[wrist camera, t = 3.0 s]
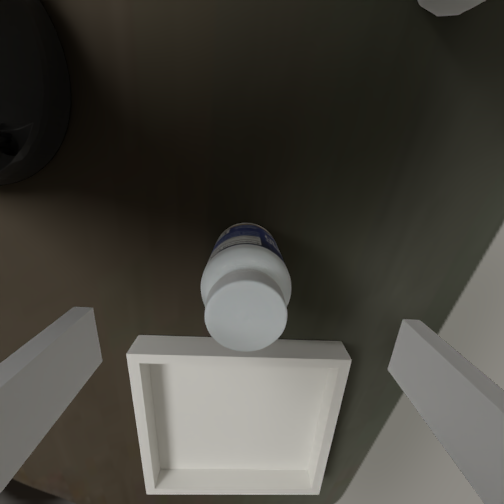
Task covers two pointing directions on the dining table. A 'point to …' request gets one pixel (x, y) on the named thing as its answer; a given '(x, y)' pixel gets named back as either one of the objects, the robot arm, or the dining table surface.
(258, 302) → the pill bottle
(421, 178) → the dining table surface
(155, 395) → the tray
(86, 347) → the robot arm
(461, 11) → the foam cup
